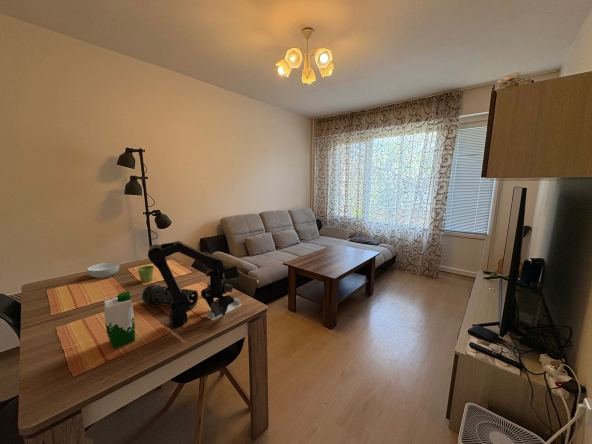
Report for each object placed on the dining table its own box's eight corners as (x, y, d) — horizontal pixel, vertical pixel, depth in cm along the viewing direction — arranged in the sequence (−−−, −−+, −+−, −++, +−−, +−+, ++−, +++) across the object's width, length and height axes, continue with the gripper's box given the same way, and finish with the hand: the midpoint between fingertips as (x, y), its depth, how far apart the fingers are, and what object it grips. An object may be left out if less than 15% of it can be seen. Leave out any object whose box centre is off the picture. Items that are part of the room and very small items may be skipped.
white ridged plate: (212, 321, 109) (212, 315, 109) (204, 316, 113) (204, 310, 112) (242, 305, 124) (241, 300, 123) (233, 301, 127) (233, 296, 127)
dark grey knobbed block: (216, 316, 112) (215, 303, 111) (211, 314, 114) (210, 300, 113) (224, 312, 115) (223, 299, 114) (219, 310, 118) (218, 296, 116)
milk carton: (138, 341, 96) (132, 296, 92) (110, 352, 89) (103, 304, 86) (133, 331, 102) (128, 288, 98) (107, 340, 95) (100, 295, 92)
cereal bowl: (124, 274, 160) (123, 265, 159) (94, 283, 147) (92, 272, 145) (114, 269, 169) (112, 260, 168) (84, 277, 155) (83, 267, 154)
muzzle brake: (187, 314, 115) (186, 295, 113) (140, 307, 121) (138, 288, 119) (199, 304, 124) (198, 286, 122) (154, 298, 130) (152, 281, 128)
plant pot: (139, 279, 154) (138, 266, 153) (156, 276, 158) (154, 264, 156) (136, 284, 146) (135, 271, 144) (154, 282, 150) (153, 269, 148)
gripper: (242, 282, 113) (243, 311, 116) (218, 272, 124) (219, 299, 126) (223, 290, 104) (224, 321, 107) (199, 279, 115) (201, 308, 118)
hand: (217, 312), depth 115 cm, fingers open, 9 cm apart
